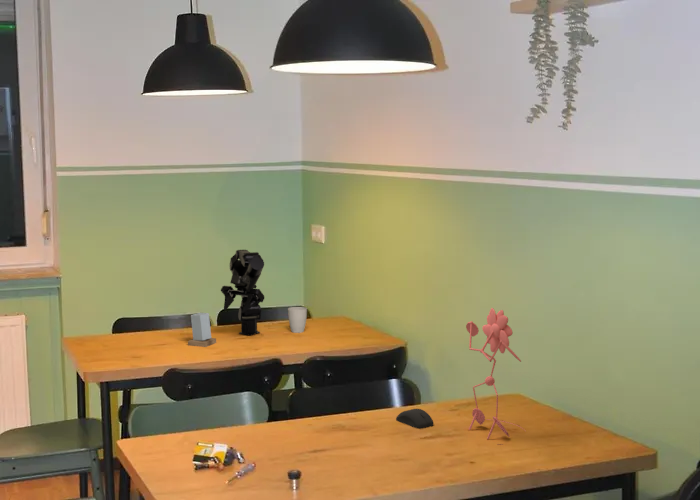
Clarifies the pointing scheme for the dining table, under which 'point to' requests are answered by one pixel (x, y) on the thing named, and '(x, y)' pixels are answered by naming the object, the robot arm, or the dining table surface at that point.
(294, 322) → the cup
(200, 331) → the grey upright block
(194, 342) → the upper slab
